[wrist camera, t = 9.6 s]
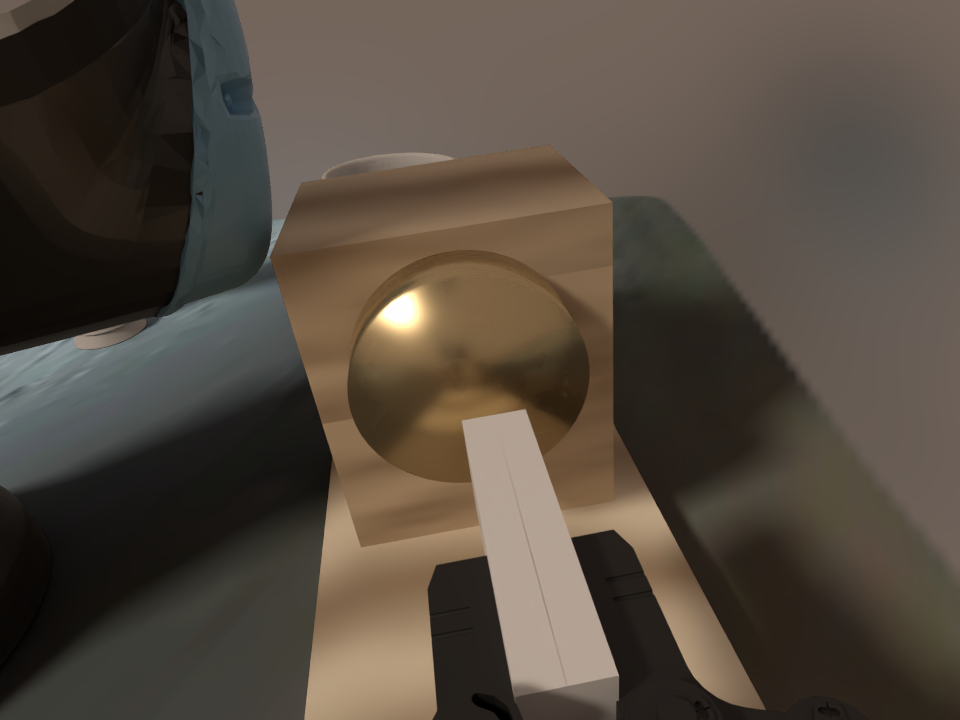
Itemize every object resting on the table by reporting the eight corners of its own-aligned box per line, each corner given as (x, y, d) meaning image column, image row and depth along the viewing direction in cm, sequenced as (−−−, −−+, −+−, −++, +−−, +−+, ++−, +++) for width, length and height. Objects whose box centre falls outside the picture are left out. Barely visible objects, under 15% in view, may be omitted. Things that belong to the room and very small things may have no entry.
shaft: (592, 461, 20) (586, 257, 16) (375, 500, 20) (319, 300, 16) (521, 301, 30) (507, 154, 26) (377, 325, 30) (344, 179, 26)
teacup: (384, 235, 59) (367, 148, 55) (491, 238, 55) (480, 145, 50) (296, 301, 48) (265, 199, 44) (420, 312, 44) (399, 201, 40)
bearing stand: (923, 1062, 13) (1314, 670, 5) (276, 1219, 12) (-229, 1001, 5) (587, 397, 33) (579, 134, 26) (343, 440, 32) (266, 181, 25)
